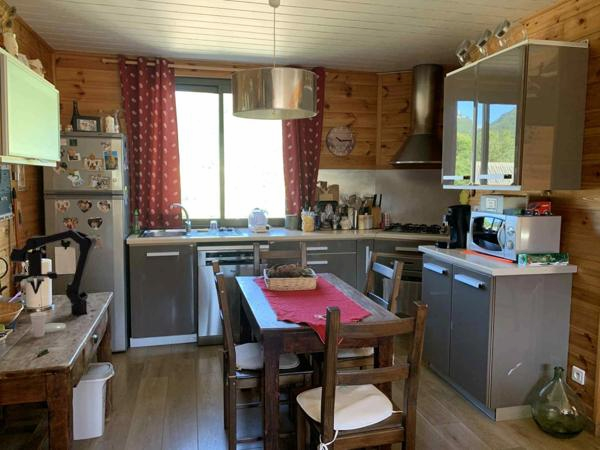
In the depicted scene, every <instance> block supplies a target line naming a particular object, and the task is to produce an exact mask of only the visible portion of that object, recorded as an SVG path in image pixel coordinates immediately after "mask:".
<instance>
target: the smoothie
mask: <svg viewBox="0 0 600 450" xmlns="http://www.w3.org/2000/svg"><path fill="white" fill-rule="evenodd" d="M47 316H48V312H46V311H41V303H38V311H36V312H32V313H30V314H29V318H30V319H31V320H30V321H31V326H32V331H33V332H32V333H33V336H34V338H42V337H44V336H45V333H44V332H45V324H47V323H46V322H47Z"/></svg>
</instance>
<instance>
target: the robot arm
mask: <svg viewBox="0 0 600 450" xmlns="http://www.w3.org/2000/svg"><path fill="white" fill-rule="evenodd" d="M67 239H70V240H71V239H72V240H73V242H75V243H76V244H78V245H79V246H78V248H79V256H78V260H77V264H76V267H75V273H74V276H73V280H72V281H70V282H69V283H67V285H66V290H65V293H66V294H65V295H66V297H67V299H69V302H70V303H71V304H70V313H71V315H72V316H83V315H88V314H89V313H88V309H87V308H88V305H87V303H88V302H87V300H88V298H89V295H88V294H87V293H86V292H85V291H84V289H85V288H84V287H85V286H84V278H85V274H86V270H87V267H88V263H89V259H90V255H91V253H92V251H93V250H94V248H95V246H96V244H97V239H96V237H94V236H93V235H89V234H86V233H84V232H82V231H78V230H77V229H76V228H70V229H69V230H66V231H62V232H58V233H53V234H50V235H39V236H38V235H37V236H33V237H29V238H27V240H26V241H25V244H24V246H22V248H17V247H16V248H15V247H14V248H12V249H11V250H12V251H11V253H10V255H9V259H10V263H11V262H12V263H26V262H27V261H28V262H27V266H28V273H27V274H26V275H24V274H23V273H26V272H27V271H26V269H25V266H26V265H24V266H23V273H15V274H12V282H13V283H18V282H19V283H21V282H23V280H26V283H28V284H30V285H31V288H32V290H33V293H34V294H35V295H37V294H38V292H39V289H40V286H41V285H42V283H43V282H45V279H46V278H49V279H50V280H53V279H54V280H55V279H58V272H56V271H55V270H51V271H47V272H46V273H43V264H42V263H43V261H42V259H43V258H42V257H43V256H42V255H43V254H46V253H47V251H46V250H45V249H43V248H41V247H44V246H46V245H47V244H50V243H51V244H52V243H56V242H59V241H63V240H67ZM34 279H36V281H35V280H34ZM35 282H36V283H35Z"/></svg>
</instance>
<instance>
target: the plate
mask: <svg viewBox="0 0 600 450" xmlns="http://www.w3.org/2000/svg"><path fill="white" fill-rule="evenodd" d="M66 327H67V326H66V324H65V323H63V322H50V323H45V332H44V334H45V333H46V334H49V333H58V332H60V331H63V330H65V329H66Z"/></svg>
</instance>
